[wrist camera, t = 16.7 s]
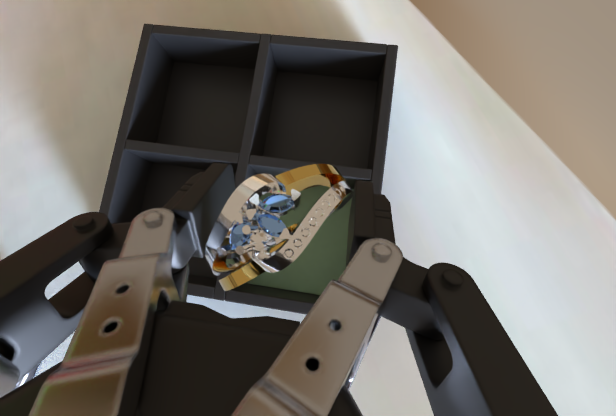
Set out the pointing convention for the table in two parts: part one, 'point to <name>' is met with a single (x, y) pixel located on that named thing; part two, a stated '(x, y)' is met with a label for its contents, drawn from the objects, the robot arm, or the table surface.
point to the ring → (271, 222)
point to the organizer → (253, 136)
